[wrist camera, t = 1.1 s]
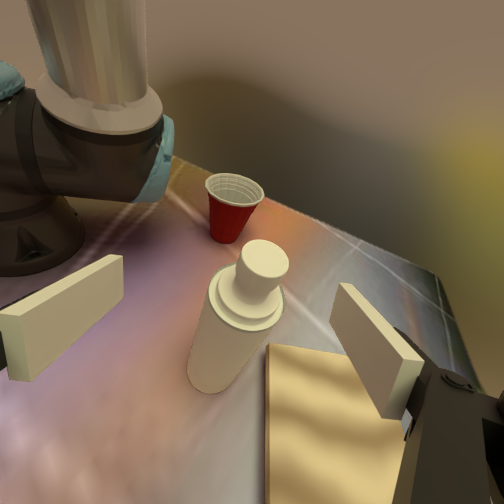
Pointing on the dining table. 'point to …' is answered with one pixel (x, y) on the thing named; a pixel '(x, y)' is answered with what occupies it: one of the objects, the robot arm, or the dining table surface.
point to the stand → (325, 433)
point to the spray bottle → (237, 315)
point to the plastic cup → (231, 204)
